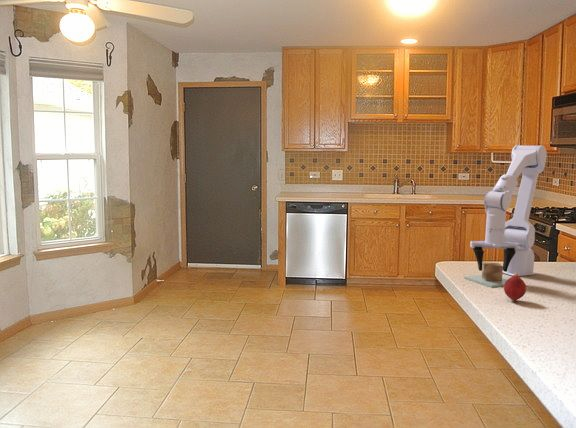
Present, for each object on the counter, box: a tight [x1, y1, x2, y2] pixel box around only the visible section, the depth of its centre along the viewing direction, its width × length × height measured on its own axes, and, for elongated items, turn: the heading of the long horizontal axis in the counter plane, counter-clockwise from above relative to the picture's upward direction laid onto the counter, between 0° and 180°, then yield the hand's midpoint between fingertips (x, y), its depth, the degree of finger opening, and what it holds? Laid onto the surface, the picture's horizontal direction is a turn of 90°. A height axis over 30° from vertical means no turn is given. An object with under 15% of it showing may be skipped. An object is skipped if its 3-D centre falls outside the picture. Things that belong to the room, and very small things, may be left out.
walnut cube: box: [481, 261, 504, 282], centre depth 174 cm, size 5×5×5 cm
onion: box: [503, 273, 527, 302], centre depth 152 cm, size 6×6×8 cm
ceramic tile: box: [463, 274, 509, 288], centre depth 174 cm, size 12×12×1 cm
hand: (492, 270), depth 174 cm, fingers open, 7 cm apart
